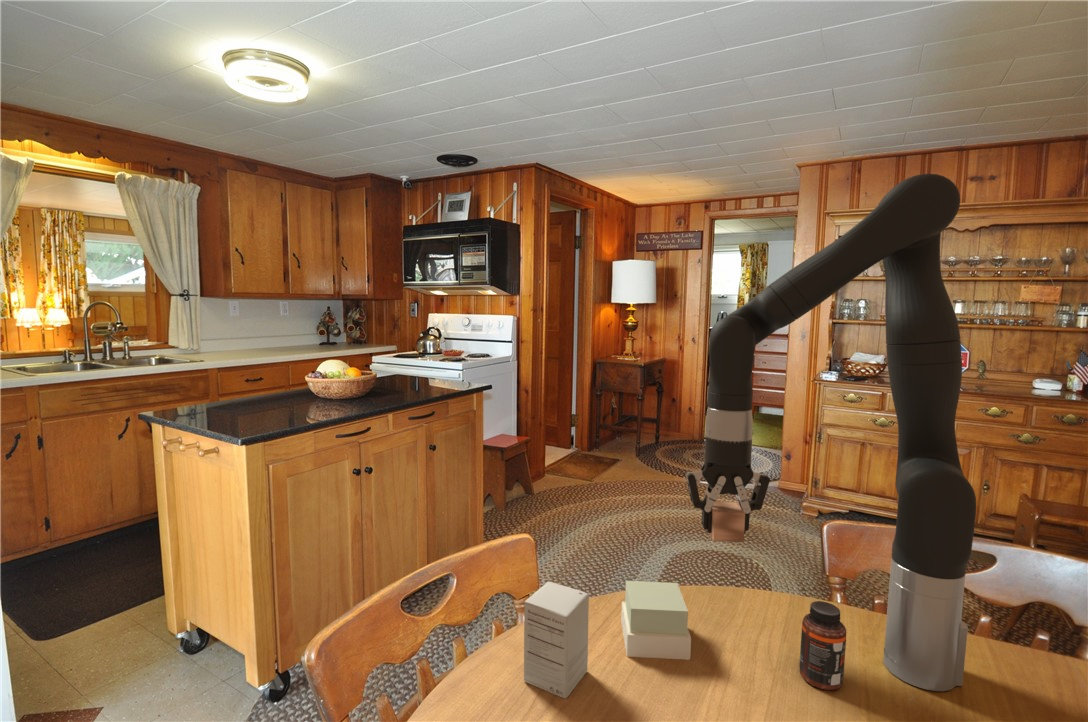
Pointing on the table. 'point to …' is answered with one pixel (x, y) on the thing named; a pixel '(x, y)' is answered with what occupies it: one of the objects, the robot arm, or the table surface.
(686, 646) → the tower base
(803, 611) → the table surface
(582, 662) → the supplement box
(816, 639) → the supplement bottle
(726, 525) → the terracotta cube
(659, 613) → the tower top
